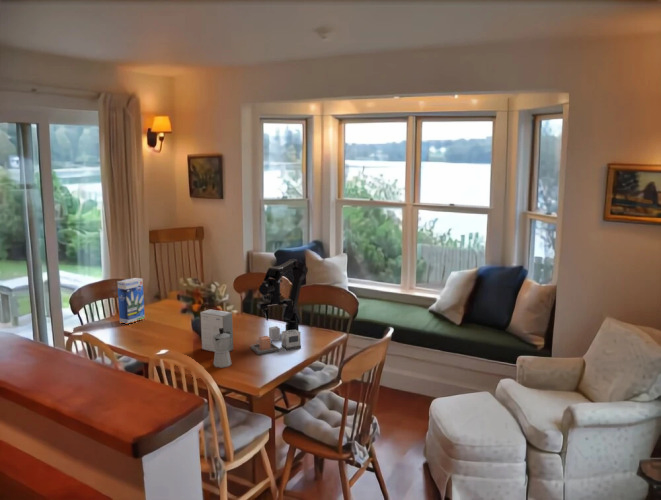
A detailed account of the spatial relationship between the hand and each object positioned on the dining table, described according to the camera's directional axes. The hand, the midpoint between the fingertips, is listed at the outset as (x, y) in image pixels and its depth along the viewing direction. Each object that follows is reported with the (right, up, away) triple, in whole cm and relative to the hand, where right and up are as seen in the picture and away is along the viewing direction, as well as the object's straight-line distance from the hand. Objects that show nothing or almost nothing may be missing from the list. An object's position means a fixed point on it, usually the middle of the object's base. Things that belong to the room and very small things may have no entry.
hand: (275, 319), depth 304 cm
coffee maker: (-22, -18, -31) cm, 42 cm away
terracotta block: (-4, -14, -12) cm, 19 cm away
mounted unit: (+9, -14, -9) cm, 19 cm away
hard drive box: (-29, -14, -12) cm, 34 cm away
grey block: (-1, -11, +6) cm, 13 cm away
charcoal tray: (-4, -14, -12) cm, 19 cm away
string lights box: (-90, -6, +37) cm, 97 cm away
